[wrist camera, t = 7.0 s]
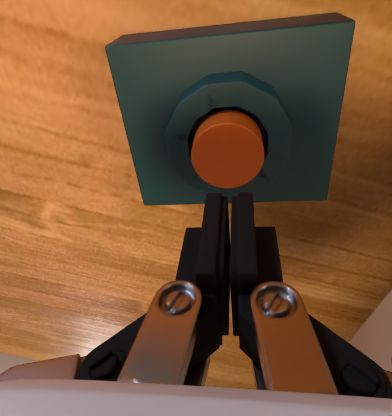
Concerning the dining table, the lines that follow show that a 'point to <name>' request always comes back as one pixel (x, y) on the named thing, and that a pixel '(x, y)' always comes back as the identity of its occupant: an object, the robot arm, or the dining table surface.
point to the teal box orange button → (235, 102)
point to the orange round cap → (227, 149)
